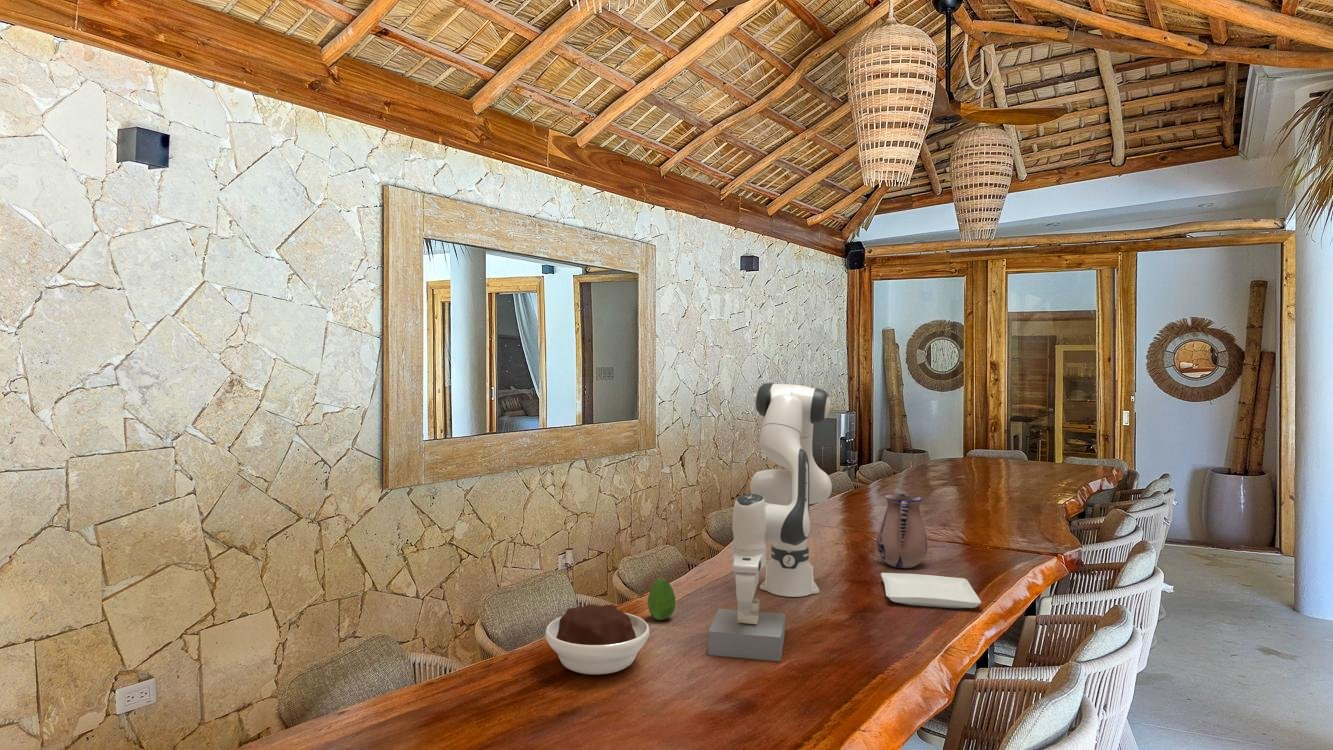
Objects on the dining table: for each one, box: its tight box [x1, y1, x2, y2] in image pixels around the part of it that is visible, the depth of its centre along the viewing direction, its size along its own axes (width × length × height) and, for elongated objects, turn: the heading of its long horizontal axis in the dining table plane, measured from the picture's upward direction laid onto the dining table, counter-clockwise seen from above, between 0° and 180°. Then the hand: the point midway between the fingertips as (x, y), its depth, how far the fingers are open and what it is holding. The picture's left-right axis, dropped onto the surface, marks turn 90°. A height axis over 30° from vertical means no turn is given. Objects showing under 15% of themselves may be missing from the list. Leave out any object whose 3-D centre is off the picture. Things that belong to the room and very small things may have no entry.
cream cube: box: [737, 598, 760, 624], centre depth 205 cm, size 5×5×5 cm
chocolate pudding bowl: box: [545, 604, 650, 676], centre depth 190 cm, size 25×25×15 cm
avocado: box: [647, 577, 676, 621], centre depth 224 cm, size 8×8×12 cm
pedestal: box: [707, 608, 786, 662], centre depth 205 cm, size 18×18×6 cm
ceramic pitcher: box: [876, 493, 928, 569], centre depth 282 cm, size 18×21×25 cm
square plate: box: [880, 572, 982, 609], centre depth 248 cm, size 27×27×4 cm
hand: (748, 610), depth 205 cm, fingers open, 5 cm apart
